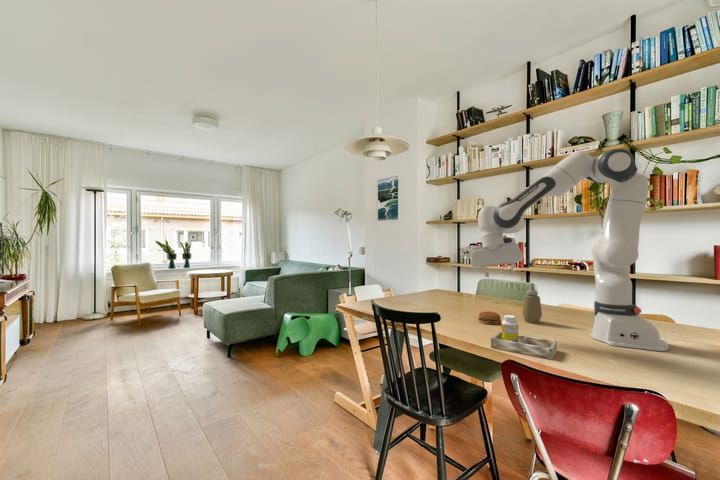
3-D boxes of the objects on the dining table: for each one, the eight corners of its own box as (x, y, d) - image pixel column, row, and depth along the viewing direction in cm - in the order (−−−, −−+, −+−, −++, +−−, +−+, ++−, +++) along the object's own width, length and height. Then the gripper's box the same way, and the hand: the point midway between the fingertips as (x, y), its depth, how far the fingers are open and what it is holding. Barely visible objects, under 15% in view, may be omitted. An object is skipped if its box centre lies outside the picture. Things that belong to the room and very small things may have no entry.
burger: (505, 324, 148) (505, 314, 148) (488, 326, 145) (488, 315, 145) (490, 319, 157) (490, 309, 157) (474, 320, 154) (474, 311, 154)
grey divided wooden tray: (556, 350, 113) (556, 341, 113) (552, 359, 105) (552, 349, 105) (499, 340, 125) (499, 331, 125) (490, 347, 117) (490, 338, 117)
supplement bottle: (504, 340, 122) (504, 313, 121) (520, 343, 118) (520, 315, 118) (499, 344, 117) (499, 316, 117) (516, 347, 114) (515, 318, 114)
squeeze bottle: (545, 324, 147) (545, 284, 146) (527, 324, 147) (527, 284, 147) (536, 319, 155) (536, 282, 155) (519, 319, 155) (519, 282, 155)
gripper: (467, 246, 140) (472, 278, 136) (518, 237, 132) (525, 270, 128) (469, 249, 146) (474, 279, 142) (518, 240, 137) (526, 272, 133)
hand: (499, 275), depth 135 cm, fingers open, 8 cm apart
